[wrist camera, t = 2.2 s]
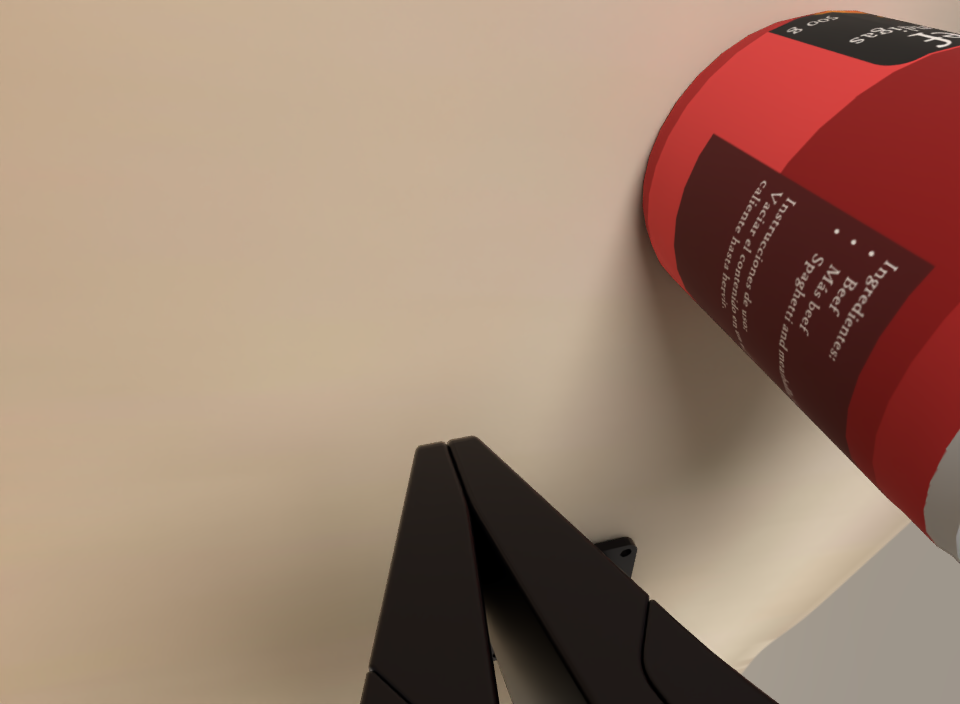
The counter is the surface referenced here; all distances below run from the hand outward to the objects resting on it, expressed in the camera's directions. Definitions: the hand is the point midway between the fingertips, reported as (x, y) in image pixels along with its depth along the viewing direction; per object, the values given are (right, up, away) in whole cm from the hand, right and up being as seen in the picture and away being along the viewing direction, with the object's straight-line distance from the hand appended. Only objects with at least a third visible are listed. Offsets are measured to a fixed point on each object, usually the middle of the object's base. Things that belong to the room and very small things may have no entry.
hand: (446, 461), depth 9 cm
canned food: (+8, +7, +9) cm, 14 cm away
